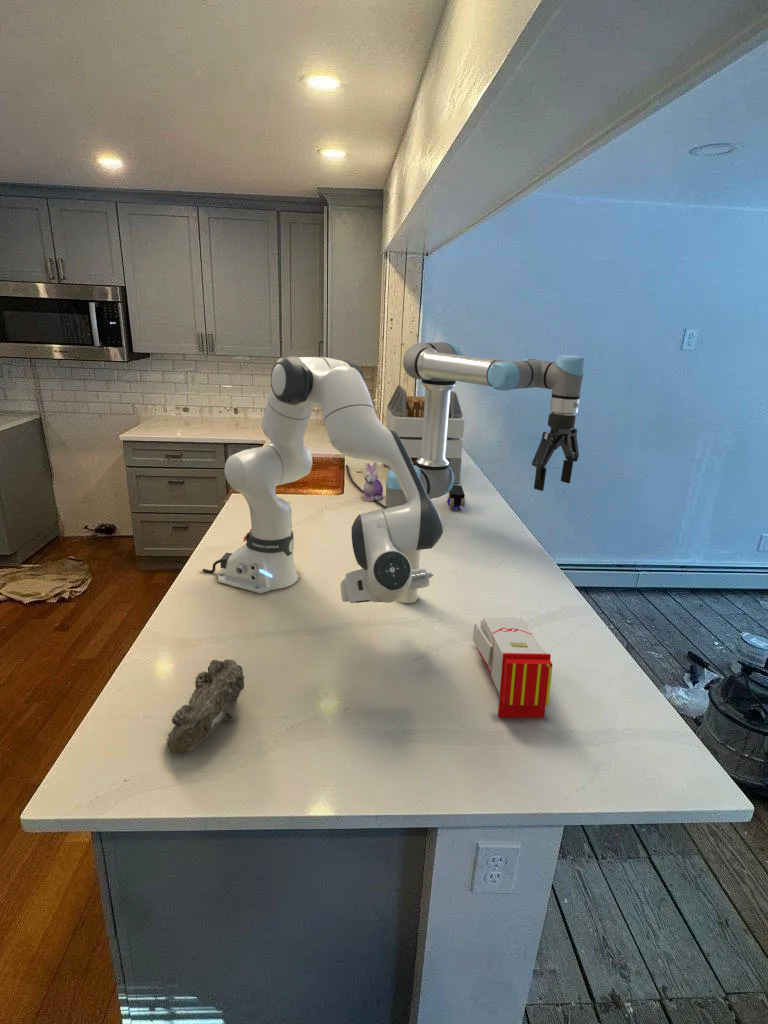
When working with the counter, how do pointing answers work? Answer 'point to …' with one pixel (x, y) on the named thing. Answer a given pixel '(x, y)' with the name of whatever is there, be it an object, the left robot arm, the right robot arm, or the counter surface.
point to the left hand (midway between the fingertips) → (383, 589)
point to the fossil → (206, 705)
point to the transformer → (408, 426)
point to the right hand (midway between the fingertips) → (552, 485)
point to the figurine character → (456, 497)
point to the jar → (414, 559)
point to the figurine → (372, 484)
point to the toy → (515, 666)
